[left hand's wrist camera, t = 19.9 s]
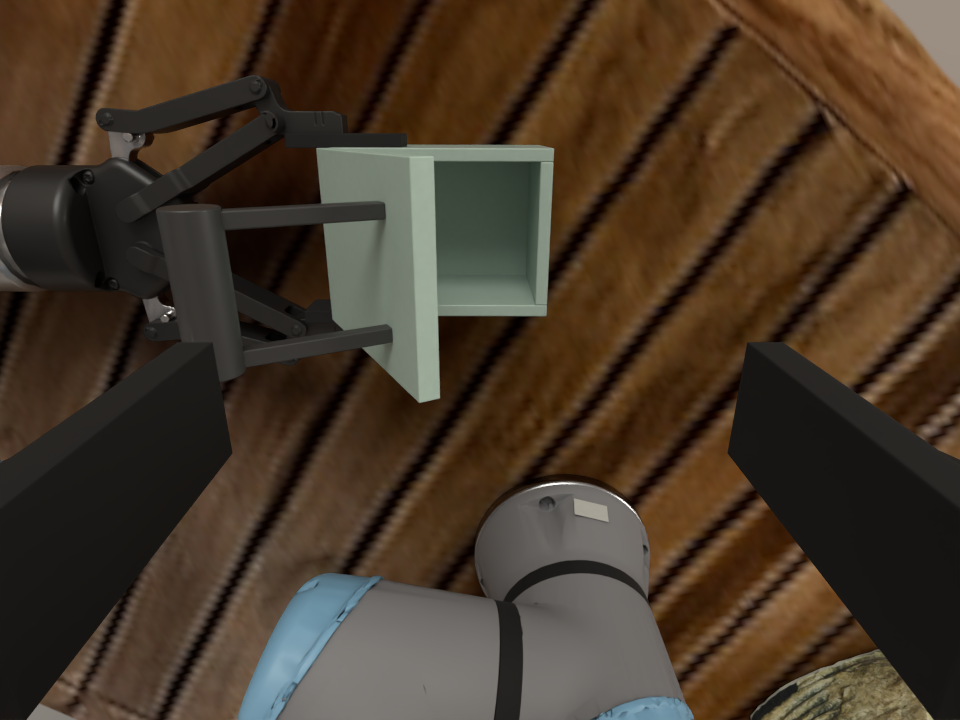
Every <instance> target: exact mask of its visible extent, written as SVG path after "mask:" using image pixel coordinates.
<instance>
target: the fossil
mask: <svg viewBox="0 0 960 720" xmlns="http://www.w3.org/2000/svg"><path fill="white" fill-rule="evenodd" d="M750 717H751V720H933V718H932V717H931V716H930V714H929V713H928V712H927V710H926V709H925V708H924V707H923V705H922V704H921V703H920V701H919V700H918V699H917V698H916V696H915V695H914V694H913V692H912V691H911V690H910V688H909V687H908V686H907V685H906V683H905V682H904V681H903V679H902V678H901V677H900V676H899V674H898V673H897V672H896V670H895V669H894V668H893V666H892V665H891V664H890V663H889V661H888V660H887V659H886V657H885V656H884V655H883V654H882V652H881V651H880V650H879V649H878V650H874V651H872V652H869V653H865V654H861V655H858V656H855V657H852V658H849V659H846V660H842V661H839V662H837V663H836V664H834V665H832V666H828V667H824V668H820V669H818V670H816V671H813V672H811V673H809V674H807V675H804V676H802V677H800V678H798V679H795V680H794V681H792V682H790V683H788V684H786V685H785V686H783V687H781V688H780V689H779V690H777V691H776V692H775V693H774V694H772V695H771V696H770V697H769V698H768V699H767V700H766V701H765V702H764V703H763V704H761V705H759V707H758V708H757V709H756V710H755V711H754V712H753V713H752V714H751V716H750Z"/></svg>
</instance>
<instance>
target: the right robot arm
mask: <svg viewBox="0 0 960 720" xmlns="http://www.w3.org/2000/svg"><path fill="white" fill-rule="evenodd" d="M280 92H281V91H280V87H279V85H278V83H277V82H275V81H274V80H272V79H268V78H265V77H261V76H257V75H251V76H248V77H244V78H241V79H238V80H235V81H231V82H228V83H225V84H222V85H218V86H215V87H212V88H209V89H205V90H202V91H199V92H196V93H192V94H189V95H186V96H183V97H180V98H176V99H173V100H170V101H167V102H163V103H160V104H157V105H154V106H150V107H147V108H144V109H141V110H127V109H112V108H101V109H100V110H98V111H97V113H96V121H97V124H98V125H99V126H100V128H102V129H103V130H105V131H108V133H109V141H110V148H111V156H112V158H110V159H108V160H106V161H105V162H104V163H102V164H100V165H36V166H30V167H25V166H11V165H0V291H30V292H41V291H45V290H51V291H121V292H126V293H129V294H131V295H133V296H135V297H138V298H140V299H142V300H143V303H144V306H145V310H146V313H147V316H148V319H149V323H148V324H146V325H145V326H144V327H143V334H144V336H145V337H146V338H147V339H148V340H150V341H166V340H178V339H181V337H180V332H179V327H178V322H177V317H176V311H175V306H174V302H171V301H169V300H168V299H167V298H166V296H165V294H164V293H165V292H166V291H168V290H169V289H170V288H171V286H170V281H169V276H168V271H167V266H166V261H165V256H164V251H163V246H162V240H161V235H160V230H159V225H158V220H157V215H156V209H157V208H160V207H164V206H171V205H183V204H198V202H194V201H193V199H192V198H191V197H192V196H194V195H195V194H197V193H199V192H200V191H202V190H203V189H205V188H206V187H208V186H209V184H211V183H212V182H214V181H215V180H217V179H218V178H220V177H222V176H223V175H225V174H226V173H228V172H230V171H231V170H233V169H234V168H236V167H238V166H239V165H241V164H242V163H244V162H245V161H247V160H249V159H250V158H252V157H253V156H255V155H257V154H258V153H260V152H261V151H263V150H265V149H266V148H268V147H269V146H271V145H273V144H274V143H276V142H277V141H279V140H280V139H282V138H284V137H285V146H286V148H331V147H407V135H406V134H387V133H348V127H347V116H346V115H343V114H341V113H339V112H333V111H292V110H290V109H289V108H288V107H287V106H286V105H285V103H284V101H283V99H282V97H281V94H280ZM253 107H256V108H257V110H258V112H259V115H260V116H259V117H257V118H256V119H254V120H253V121H251V122H249V123H248V124H246V125H245V126H243V127H242V128H240V129H239V130H237V131H235V132H234V133H232V134H231V135H229V136H228V137H226V138H225V139H223V140H221V141H220V142H218V143H217V144H215V145H214V146H212V147H211V148H209V149H207V150H206V151H204V152H203V153H201V154H200V155H198V156H197V157H195V158H193V159H192V160H190V161H189V162H187V163H186V164H184V165H183V166H181V167H179V168H178V169H175V170H173V171H170V172H168V173H167V174H165V175H162V174H160V173H159V172H157V171H156V170H154V169H153V168H151V167H150V166H148V165H147V164H145V163H144V162H142V161H141V160H139V159H137V154H138V152H139V150H140V149H142V148H146V147H149V146H151V144H152V142H153V140H154V135H153V134H161V133H169V132H173V131H177V130H180V129H184V128H187V127H190V126H194V125H197V124H200V123H204V122H207V121H210V120H213V119H217V118H220V117H223V116H227V115H230V114H233V113H237V112H240V111H243V110H247V109H250V108H253ZM231 273H232V272H231ZM232 279H233V286H234V292H235V298H236V305H237V311H238V312H240V313H242V314H244V315H246V316H248V317H250V318H252V319H254V320H257V321H259V322H261V323H263V324H265V325H267V326H269V327H271V328H273V329H270V328H266V327H262V326H258V325H254V324H250V323H246V322H242V321H239V324H240V330H241V337H242V343H243V346H247V345H253V344H260V343H266V342H273V341H279V340H286V339H292V338H299V337H305V336H312V335H318V334H325V333H331V332H338V331H344V330H343V329H342V328H341V327H340V326H339V325H338V324H337V323H336V322H335V321H334V320H333V319H332V309H331V300H315V301H314V302H313V303H312V304H311V305H310V306H309V307H308V308H307V309H304V308H302V307H300V306H298V305H296V304H294V303H292V302H290V301H288V300H286V299H284V298H282V297H280V296H278V295H276V294H274V293H272V292H270V291H268V290H266V289H264V288H262V287H260V286H258V285H256V284H254V283H252V282H250V281H248V280H246V279H244V278H242V277H240V276H238V275H236V274H234V273H232ZM274 329H275V330H274ZM300 359H301V358H299V359H293V360H287V361H281V362H276V363H280V364H285V365H290V366H292V365H295V364H296V363H297V362H298V361H299V360H300ZM0 462H1V460H0Z"/></svg>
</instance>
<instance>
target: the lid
mask: <svg viewBox="0 0 960 720" xmlns="http://www.w3.org/2000/svg"><path fill="white" fill-rule="evenodd" d="M316 151H317V161H318V172H319V182H320V193H321V203H322V204H305V205H286V206H268V207H249V208H230V209H221V207H220V206H219V205H214V204H183V205H171V206H164V207H160V208H157V209H156V215H157V220H158V225H159V230H160V235H161V240H162V246H163V251H164V256H165V261H166V266H167V271H168V276H169V281H170V286H171V291H172V296H173V301H174V306H175V311H176V317H177V322H178V327H179V332H180V337H181V342H213V347H214V353H215V359H216V364H217V370H218V375H219V381H220V382H224V381H228V380H231V379H234V378H237V377H239V376H241V375H242V374H243V373H244V372H245V371H246V367H252V366H258V365H264V364H270V363H276V362H281V361H287V360H293V359H299V358H305V357H311V356H317V355H322V354H328V353H334V352H340V351H346V350H352V349H358V348H363V349H364V350H365V351H366V352H367V353H368V354H369V355H370V356H371V357H372V358H373V359H374V360H375V361H376V362H377V363H378V364H379V365H380V366H381V367H382V368H384V369H385V370H386V371H387V372H388V373H389V374H390V375H391V376H392V377H393V378H394V379H395V380H396V381H397V382H398V383H399V384H400V385H401V386H402V387H403V388H404V389H405V390H406V391H407V392H408V393H410V394H411V395H412V396H413V397H414V398H415V399H416V400H417V401H418V402H419V403H422V402H426V401H431V400H435V399H439V398H440V378H439V339H438V299H437V260H436V220H435V181H434V157H433V156H426V155H414V154H401V153H389V152H377V151H365V150H353V149H341V148H317V149H316ZM314 224H324V235H325V245H326V256H327V267H328V277H329V288H330V298H331V309H332V319H333V320H334V321H335V322H336V323H337V324H338V325H339V326H340V327H341V328H342V329H343V330H344V331H338V332H331V333H325V334H318V335H312V336H305V337H299V338H292V339H286V340H279V341H273V342H266V343H260V344H253V345H247V346H243V343H242V337H241V330H240V324H239V317H238V311H237V305H236V298H235V292H234V286H233V279H232V273H231V266H230V260H229V254H228V247H227V241H226V234H225V231H226V230H241V229H255V228H270V227H285V226H299V225H314Z"/></svg>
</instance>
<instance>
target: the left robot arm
mask: <svg viewBox="0 0 960 720" xmlns="http://www.w3.org/2000/svg"><path fill="white" fill-rule="evenodd" d="M231 454H232V448H231V442H230V437H229V431H228V426H227V420H226V415H225V409H224V403H223V398H222V392H221V387H220V381H219V375H218V370H217V364H216V359H215V353H214V347H213V342H177V343H176V344H174V345H173V346H171V347H170V348H168V349H167V350H166V351H164V352H163V353H161V354H160V355H158V356H157V357H155V358H154V359H153V360H151V361H150V362H148V363H147V364H145V365H144V366H142V367H141V368H140V369H138V370H137V371H135V372H134V373H132V374H131V375H129V376H128V377H127V378H125V379H124V380H122V381H121V382H119V383H118V384H116V385H115V386H114V387H112V388H111V389H109V390H108V391H106V392H105V393H103V394H102V395H101V396H99V397H98V398H96V399H95V400H93V401H92V402H90V403H89V404H88V405H86V406H85V407H83V408H82V409H80V410H79V411H77V412H76V413H75V414H73V415H72V416H70V417H69V418H67V419H66V420H64V421H63V422H62V423H60V424H59V425H57V426H56V427H54V428H53V429H51V430H50V431H49V432H47V433H46V434H44V435H43V436H41V437H40V438H38V439H37V440H36V441H34V442H33V443H31V444H30V445H28V446H27V447H26V448H24V449H23V450H21V451H20V452H18V453H17V454H15V455H14V456H13V457H11V458H9V459H7V460H5V461H2V462H0V720H27V718H28V717H29V716H30V714H31V713H32V712H33V710H34V709H35V708H36V707H37V705H38V704H39V703H40V701H41V700H42V699H43V698H44V696H45V695H46V694H47V692H48V691H49V690H50V688H51V687H52V686H53V685H54V683H55V682H56V681H57V679H58V678H59V677H60V676H61V674H62V673H63V672H64V670H65V669H66V668H67V666H68V665H69V664H70V663H71V661H72V660H73V659H74V657H75V656H76V655H77V654H78V652H79V651H80V650H81V648H82V647H83V646H84V644H85V643H86V642H87V641H88V639H89V638H90V637H91V635H92V634H93V633H94V632H95V630H96V629H97V628H98V626H99V625H100V624H101V623H102V621H103V620H104V619H105V617H106V616H107V615H108V613H109V612H110V611H111V610H112V608H113V607H114V606H115V604H116V603H117V602H118V601H119V599H120V598H121V597H122V595H123V594H124V593H125V591H126V590H127V589H128V588H129V586H130V585H131V584H132V582H133V581H134V580H135V579H136V577H137V576H138V575H139V573H140V572H141V571H142V569H143V568H144V567H145V566H146V564H147V563H148V562H149V560H150V559H151V558H152V557H153V555H154V554H155V553H156V551H157V550H158V549H159V547H160V546H161V545H162V544H163V542H164V541H165V540H166V538H167V537H168V536H169V535H170V533H171V532H172V531H173V529H174V528H175V527H176V525H177V524H178V523H179V522H180V520H181V519H182V518H183V516H184V515H185V514H186V513H187V511H188V510H189V509H190V507H191V506H192V505H193V503H194V502H195V501H196V500H197V498H198V497H199V496H200V494H201V493H202V492H203V491H204V489H205V488H206V487H207V485H208V484H209V483H210V481H211V480H212V479H213V478H214V476H215V475H216V474H217V472H218V471H219V470H220V469H221V467H222V466H223V465H224V463H225V462H226V461H227V459H228V458H229V457H230V456H231ZM728 454H729V456H730V457H731V458H732V459H733V461H734V462H735V463H736V465H737V466H738V467H739V469H740V470H741V471H742V472H743V474H744V475H745V476H746V478H747V479H748V480H749V481H750V483H751V484H752V485H753V487H754V488H755V489H756V490H757V492H758V493H759V494H760V496H761V497H762V498H763V500H764V501H765V502H766V503H767V505H768V506H769V507H770V509H771V510H772V511H773V512H774V514H775V515H776V516H777V518H778V519H779V520H780V522H781V523H782V524H783V525H784V527H785V528H786V529H787V531H788V532H789V533H790V534H791V536H792V537H793V538H794V540H795V541H796V542H797V544H798V545H799V546H800V547H801V549H802V550H803V551H804V553H805V554H806V555H807V556H808V558H809V559H810V560H811V562H812V563H813V564H814V566H815V567H816V568H817V569H818V571H819V572H820V573H821V575H822V576H823V577H824V578H825V580H826V581H827V582H828V584H829V585H830V586H831V588H832V589H833V590H834V591H835V593H836V594H837V595H838V597H839V598H840V599H841V600H842V602H843V603H844V604H845V606H846V607H847V608H848V610H849V611H850V612H851V613H852V615H853V616H854V617H855V619H856V620H857V621H858V622H859V624H860V625H861V626H862V628H863V629H864V630H865V632H866V633H867V634H868V635H869V637H870V638H871V639H872V641H873V642H874V643H875V644H876V646H877V647H878V648H879V650H880V651H881V652H882V654H883V655H884V656H885V657H886V659H887V660H888V661H889V663H890V664H891V665H892V666H893V668H894V669H895V670H896V672H897V673H898V674H899V676H900V677H901V678H902V679H903V681H904V682H905V683H906V685H907V686H908V687H909V688H910V690H911V691H912V692H913V694H914V695H915V696H916V698H917V699H918V700H919V701H920V703H921V704H922V705H923V707H924V708H925V709H926V710H927V712H928V713H929V714H930V716H931V717H932V718H933V720H960V460H959V459H957V458H954V457H952V456H950V455H948V454H946V453H943V452H941V451H939V450H937V449H936V448H934V447H933V446H932V445H930V444H929V443H927V442H926V441H924V440H923V439H922V438H920V437H919V436H917V435H916V434H914V433H913V432H911V431H910V430H909V429H907V428H906V427H904V426H903V425H901V424H900V423H898V422H897V421H896V420H894V419H893V418H891V417H890V416H888V415H887V414H885V413H884V412H883V411H881V410H880V409H878V408H877V407H875V406H874V405H872V404H871V403H870V402H868V401H867V400H865V399H864V398H862V397H861V396H859V395H858V394H857V393H855V392H854V391H852V390H851V389H849V388H848V387H846V386H845V385H844V384H842V383H841V382H839V381H838V380H836V379H835V378H833V377H832V376H831V375H829V374H828V373H826V372H825V371H823V370H822V369H820V368H819V367H818V366H816V365H815V364H813V363H812V362H810V361H809V360H807V359H806V358H805V357H803V356H802V355H800V354H799V353H797V352H796V351H794V350H793V349H792V348H790V347H789V346H787V345H786V344H784V343H783V342H747V347H746V353H745V359H744V364H743V370H742V375H741V381H740V387H739V392H738V398H737V403H736V409H735V415H734V420H733V426H732V431H731V437H730V442H729V448H728ZM649 566H650V548H649V542H648V537H647V533H646V530H645V528H644V525H643V523H642V520H641V518H640V516H639V514H638V512H637V510H636V509H635V507H634V506H633V504H632V503H631V502H630V501H629V500H628V499H627V498H626V497H625V496H624V495H623V494H622V493H620V492H619V491H618V490H616V489H615V488H613V487H611V486H610V485H608V484H606V483H604V482H601V481H599V480H596V479H593V478H589V477H585V476H579V475H570V474H558V475H549V476H543V477H539V478H535V479H532V480H529V481H526V482H524V483H521V484H519V485H517V486H515V487H514V488H512V489H510V490H509V491H507V492H506V493H504V494H503V495H502V496H501V497H499V498H498V499H497V500H496V501H495V502H494V503H493V504H492V505H491V506H490V508H489V509H488V510H487V511H486V513H485V515H484V516H483V518H482V520H481V522H480V524H479V527H478V530H477V533H476V538H475V567H476V571H477V576H478V580H479V583H480V585H481V587H482V590H483V592H484V593H485V595H486V597H487V598H484V597H479V596H473V595H467V594H462V593H456V592H450V591H444V590H439V589H433V588H427V587H422V586H416V585H410V584H404V583H399V582H393V581H388V580H384V577H382V576H373V577H362V576H353V575H344V574H336V573H326V574H321V575H318V576H316V577H314V578H312V579H310V580H309V581H308V582H306V583H305V584H304V585H303V586H302V587H301V588H300V589H299V590H298V592H297V593H296V594H295V596H294V597H293V598H292V600H291V601H290V603H289V604H288V606H287V607H286V609H285V611H284V612H283V614H282V616H281V618H280V619H279V621H278V623H277V625H276V627H275V629H274V631H273V633H272V635H271V637H270V639H269V641H268V643H267V645H266V647H265V649H264V651H263V653H262V656H261V658H260V660H259V662H258V665H257V667H256V669H255V672H254V674H253V677H252V679H251V681H250V684H249V686H248V689H247V691H246V694H245V697H244V699H243V702H242V705H241V708H240V711H239V714H238V720H694V717H693V714H692V712H691V710H690V709H689V707H688V705H686V702H685V700H684V697H683V694H682V692H681V689H680V686H679V683H678V681H677V678H676V675H675V673H674V670H673V667H672V664H671V662H670V659H669V656H668V654H667V651H666V648H665V645H664V643H663V640H662V637H661V634H660V632H659V629H658V626H657V624H656V621H655V618H654V615H653V613H652V611H651V608H650V605H649V602H648V583H649Z"/></svg>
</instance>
